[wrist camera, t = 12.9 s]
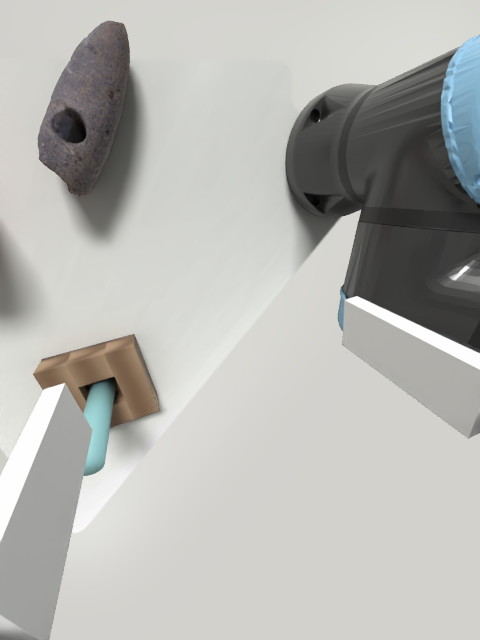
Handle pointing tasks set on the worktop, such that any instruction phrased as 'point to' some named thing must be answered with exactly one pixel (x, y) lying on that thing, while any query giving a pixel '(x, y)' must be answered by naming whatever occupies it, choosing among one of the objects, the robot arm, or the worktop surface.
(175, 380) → the worktop surface
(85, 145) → the perforated stone tool
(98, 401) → the pin
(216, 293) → the worktop surface
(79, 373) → the board
